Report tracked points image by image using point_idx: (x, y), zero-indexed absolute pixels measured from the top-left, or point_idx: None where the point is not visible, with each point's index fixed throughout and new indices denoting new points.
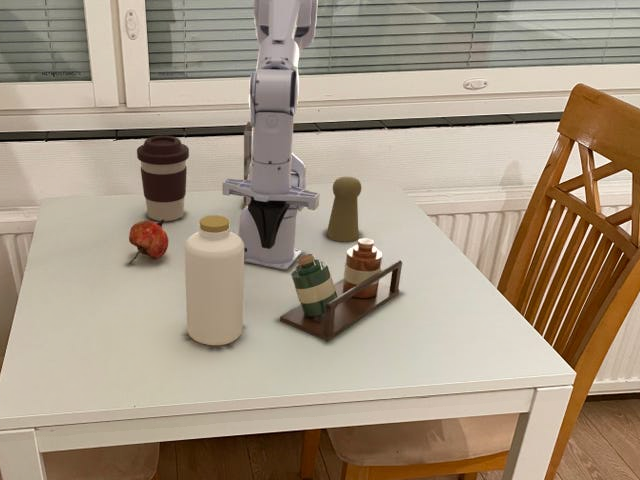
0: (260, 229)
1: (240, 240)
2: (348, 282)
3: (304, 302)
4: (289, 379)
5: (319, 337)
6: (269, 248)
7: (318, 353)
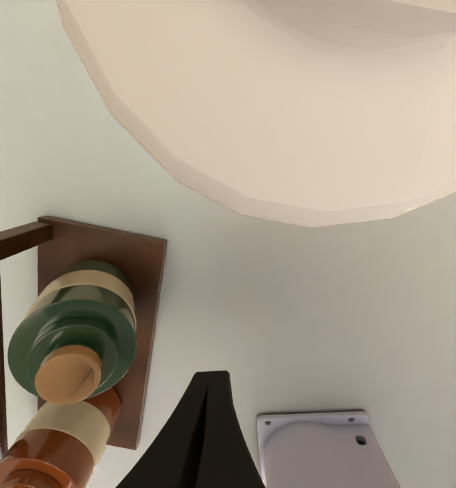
0: (222, 434)
1: (99, 55)
2: (84, 399)
3: (96, 270)
4: (17, 26)
5: (64, 219)
6: (195, 373)
7: (33, 164)
